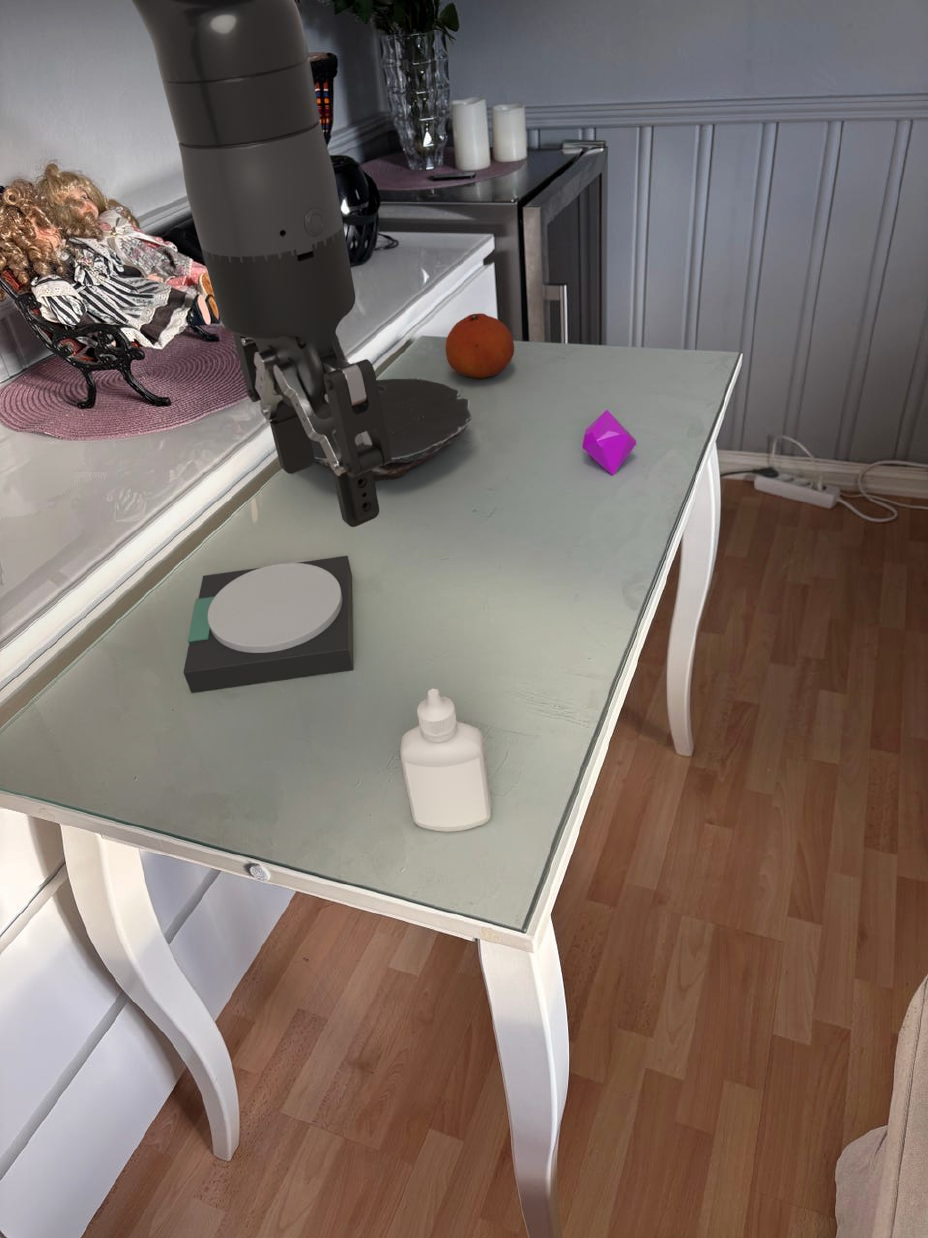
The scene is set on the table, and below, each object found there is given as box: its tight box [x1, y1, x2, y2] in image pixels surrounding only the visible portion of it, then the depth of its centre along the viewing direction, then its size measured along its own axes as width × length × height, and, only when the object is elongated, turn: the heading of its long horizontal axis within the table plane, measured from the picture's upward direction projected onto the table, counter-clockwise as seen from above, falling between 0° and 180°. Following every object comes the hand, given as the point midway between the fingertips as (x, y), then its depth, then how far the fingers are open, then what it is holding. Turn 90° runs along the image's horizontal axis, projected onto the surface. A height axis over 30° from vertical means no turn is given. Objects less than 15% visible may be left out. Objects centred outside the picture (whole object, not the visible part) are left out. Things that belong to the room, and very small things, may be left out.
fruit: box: [445, 312, 515, 379], centre depth 120 cm, size 9×9×8 cm
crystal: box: [581, 409, 637, 476], centre depth 100 cm, size 5×5×5 cm
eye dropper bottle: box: [399, 688, 492, 832], centre depth 61 cm, size 4×6×12 cm
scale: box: [182, 555, 354, 694], centre depth 82 cm, size 14×14×3 cm
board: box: [311, 377, 473, 481], centre depth 106 cm, size 22×22×5 cm
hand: (329, 493), depth 58 cm, fingers open, 8 cm apart
